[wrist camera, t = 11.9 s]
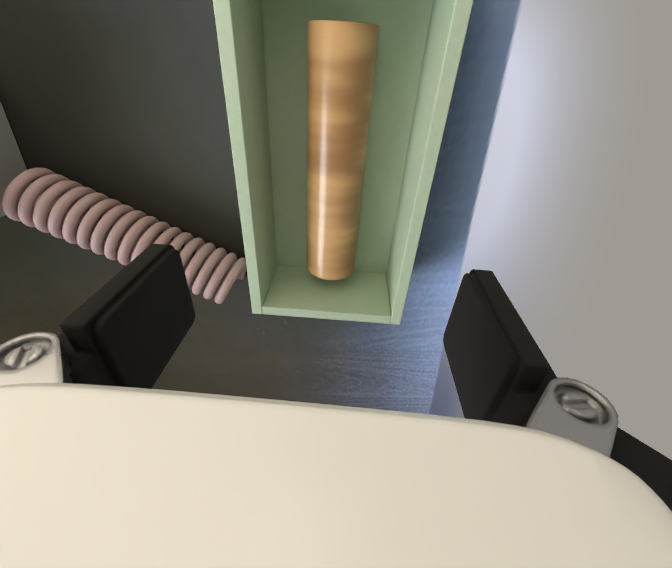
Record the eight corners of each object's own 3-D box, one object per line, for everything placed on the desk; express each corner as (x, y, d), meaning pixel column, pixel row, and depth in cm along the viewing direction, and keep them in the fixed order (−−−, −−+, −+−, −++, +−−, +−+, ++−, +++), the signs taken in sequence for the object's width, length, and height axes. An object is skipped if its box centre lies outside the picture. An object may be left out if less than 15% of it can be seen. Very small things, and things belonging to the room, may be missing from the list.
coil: (-3, 227, 25) (224, 318, 29) (-16, 175, 22) (239, 284, 26) (44, 199, 28) (241, 284, 32) (39, 151, 25) (255, 251, 30)
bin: (452, -42, 18) (492, -81, 13) (392, 277, 31) (400, 325, 25) (246, -55, 18) (200, -98, 13) (270, 268, 31) (252, 313, 26)
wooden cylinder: (336, 25, 20) (292, 19, 18) (392, 27, 18) (353, 20, 16) (326, 249, 30) (297, 268, 27) (363, 265, 28) (336, 286, 25)
